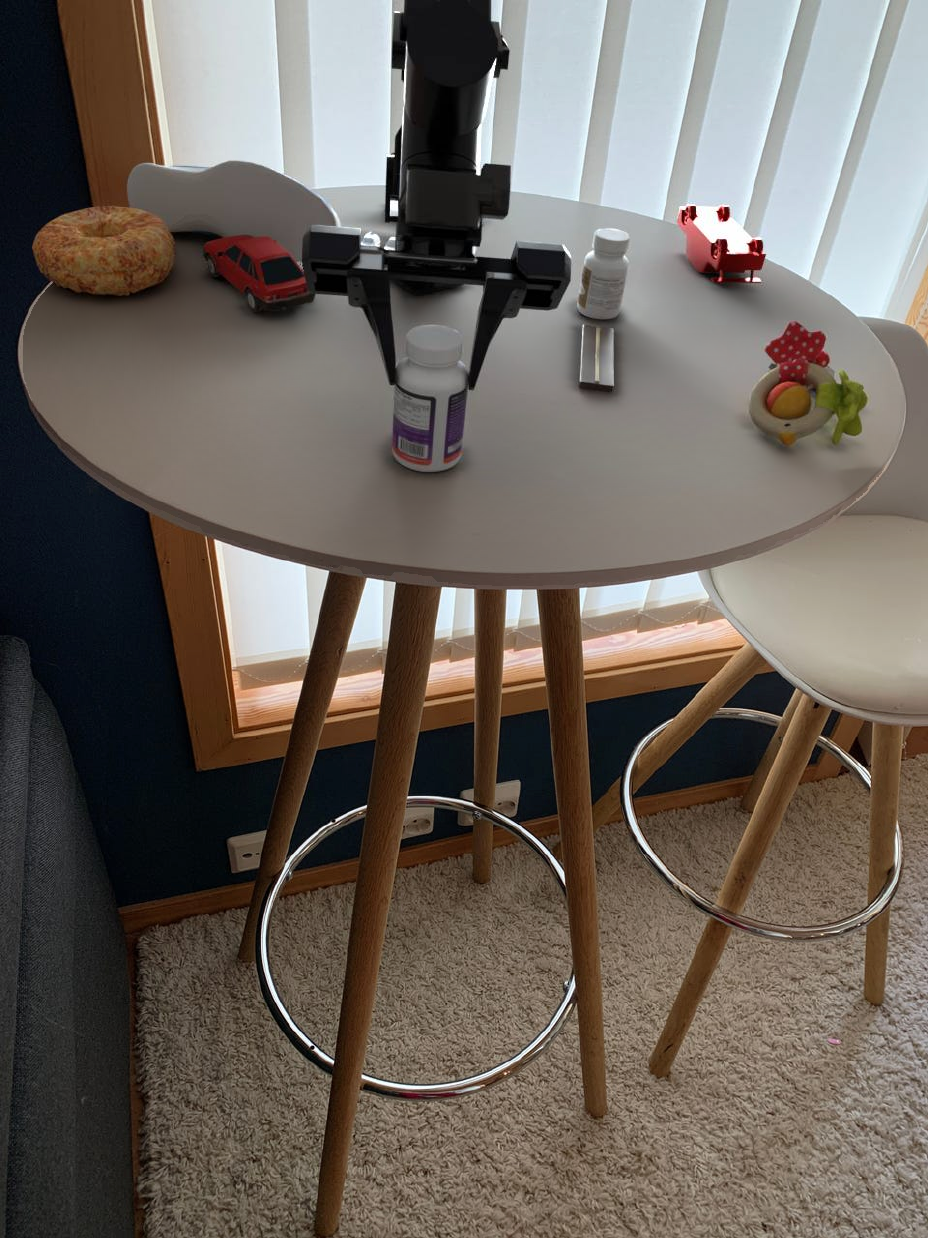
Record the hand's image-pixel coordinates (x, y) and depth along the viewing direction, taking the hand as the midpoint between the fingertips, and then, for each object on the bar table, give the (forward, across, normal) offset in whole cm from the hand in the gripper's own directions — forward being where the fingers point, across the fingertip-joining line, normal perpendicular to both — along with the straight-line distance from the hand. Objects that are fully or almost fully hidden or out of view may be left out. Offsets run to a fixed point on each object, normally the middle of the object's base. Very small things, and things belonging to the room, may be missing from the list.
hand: (431, 386), depth 67 cm
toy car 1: (-16, -16, +26) cm, 34 cm away
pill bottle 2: (-17, +18, +26) cm, 36 cm away
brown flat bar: (-9, +16, +18) cm, 26 cm away
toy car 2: (-31, +34, +33) cm, 56 cm away
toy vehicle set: (-25, -6, +35) cm, 43 cm away
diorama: (-7, +35, +13) cm, 38 cm away
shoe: (-26, -21, +28) cm, 44 cm away
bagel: (-20, -31, +23) cm, 43 cm away
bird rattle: (-2, +28, +10) cm, 29 cm away
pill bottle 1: (+4, 0, +6) cm, 7 cm away
